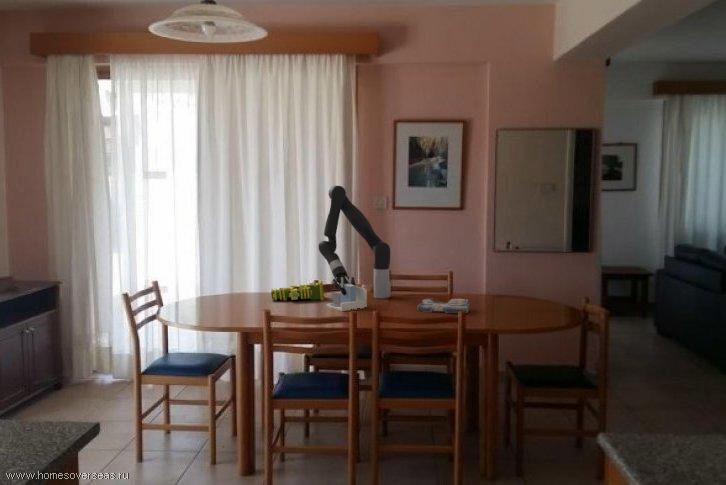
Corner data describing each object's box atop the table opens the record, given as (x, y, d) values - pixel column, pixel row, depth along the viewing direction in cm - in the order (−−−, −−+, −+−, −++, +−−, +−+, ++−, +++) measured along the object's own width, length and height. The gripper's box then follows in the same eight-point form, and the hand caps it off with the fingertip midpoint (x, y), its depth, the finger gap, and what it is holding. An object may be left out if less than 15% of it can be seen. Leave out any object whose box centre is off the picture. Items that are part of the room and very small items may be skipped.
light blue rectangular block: (346, 302, 346) (346, 283, 344) (356, 305, 337) (356, 285, 336) (340, 303, 343) (340, 283, 342) (350, 306, 335) (349, 286, 334)
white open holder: (351, 302, 351) (351, 285, 350) (366, 307, 338) (366, 289, 337) (327, 306, 343) (326, 288, 342) (341, 311, 329) (341, 292, 328)
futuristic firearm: (473, 305, 337) (466, 316, 318) (423, 304, 347) (414, 314, 328) (472, 296, 336) (465, 306, 318) (423, 294, 346) (413, 304, 327)
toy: (271, 284, 368) (321, 279, 371) (273, 301, 369) (323, 296, 372) (270, 289, 351) (322, 284, 354) (272, 307, 353) (324, 301, 356)
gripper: (329, 266, 341) (340, 291, 332) (351, 264, 349) (362, 288, 340) (324, 274, 346) (335, 299, 337) (346, 272, 354) (357, 296, 345)
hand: (349, 293), depth 339 cm, fingers open, 5 cm apart
